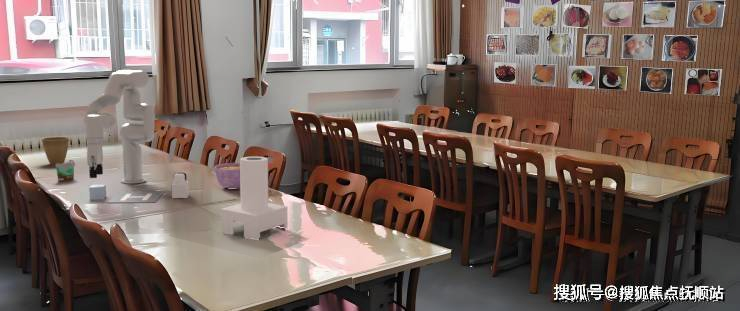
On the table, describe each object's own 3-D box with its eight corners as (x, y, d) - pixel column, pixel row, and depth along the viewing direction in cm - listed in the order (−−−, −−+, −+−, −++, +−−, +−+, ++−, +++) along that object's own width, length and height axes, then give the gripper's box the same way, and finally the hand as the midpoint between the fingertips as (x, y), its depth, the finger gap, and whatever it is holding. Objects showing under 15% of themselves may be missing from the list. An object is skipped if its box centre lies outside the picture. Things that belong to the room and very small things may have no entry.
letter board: (118, 192, 330) (118, 192, 330) (164, 192, 333) (164, 191, 333) (107, 203, 308) (106, 202, 308) (155, 202, 311) (155, 202, 311)
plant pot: (75, 163, 404) (74, 138, 401) (52, 167, 391) (51, 140, 389) (61, 161, 412) (59, 135, 409) (38, 164, 399) (36, 138, 396)
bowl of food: (260, 186, 350) (260, 165, 348) (238, 193, 332) (237, 171, 330) (230, 182, 359) (229, 161, 357) (206, 189, 341) (205, 167, 339)
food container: (66, 182, 351) (65, 164, 349) (56, 182, 352) (55, 163, 350) (81, 178, 362) (80, 160, 361) (71, 177, 364) (70, 159, 362)
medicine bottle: (174, 195, 326) (173, 171, 324) (189, 195, 327) (188, 171, 325) (171, 198, 319) (171, 174, 317) (186, 198, 320) (186, 174, 318)
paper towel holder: (256, 241, 254) (255, 164, 249) (221, 233, 264) (219, 159, 259) (287, 230, 270) (287, 158, 265) (253, 222, 280) (252, 153, 275)
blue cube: (93, 196, 321) (92, 184, 320) (106, 196, 322) (105, 184, 321) (89, 199, 315) (89, 187, 314) (102, 199, 316) (102, 187, 315)
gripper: (92, 138, 322) (93, 173, 324) (81, 142, 305) (82, 179, 307) (108, 138, 322) (109, 173, 325) (98, 143, 305) (99, 179, 308)
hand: (96, 176), depth 316 cm, fingers open, 9 cm apart
